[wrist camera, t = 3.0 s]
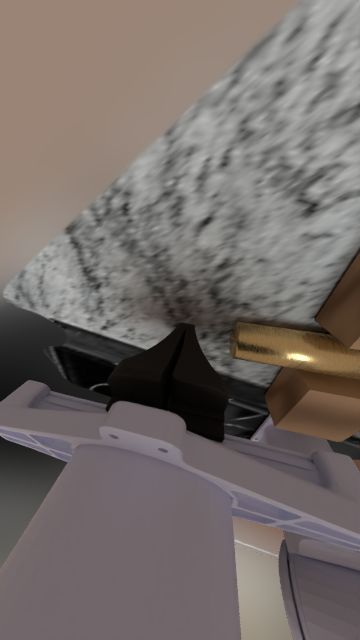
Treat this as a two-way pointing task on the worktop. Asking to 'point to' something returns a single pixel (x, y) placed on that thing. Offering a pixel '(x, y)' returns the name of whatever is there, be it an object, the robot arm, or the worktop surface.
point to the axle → (294, 349)
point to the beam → (324, 375)
